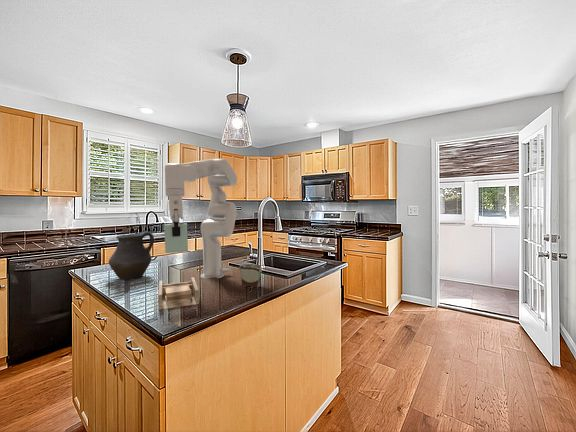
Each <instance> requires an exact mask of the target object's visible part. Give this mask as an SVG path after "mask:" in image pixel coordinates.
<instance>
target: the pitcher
mask: <svg viewBox="0 0 576 432" xmlns="http://www.w3.org/2000/svg"><path fill="white" fill-rule="evenodd" d="M145 237H149V244H148V246H146V247H145V245H144V241H143V240H144V238H145ZM154 237H155V236H154V235H153V233H151V232H149V231H146V230H145V231H142V232H140V233H130V234H129V233H128V234H119V235H118V234H117V235H116V237H115V238H117V241H118V244H117V246H116V249H115V250H114V252H113V253H112V255H111V256H110V257H109V259H108V265H109V267H110V268H111V270H112V271H113V273H114V274H115V275H116V276H117V278H118V279H120V280H135V279H139V278H142V277H143V276H144V274H145V273H146V271H147V270H148V268H149V266H150V264H151V263H152V255H151V253H150V252H151V250H152V248H153V246H154V243H155V238H154Z"/></svg>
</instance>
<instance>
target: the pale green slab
mask: <svg viewBox="0 0 576 432" xmlns="http://www.w3.org/2000/svg"><path fill="white" fill-rule="evenodd" d="M163 225H164V226H163V228H164V229H163V230H164V248H165V250H164V251H165V254H172V253H183V252H185V253H186V252H188V251H189V244H188V243H189V242H188V241H189V240H188V239H189V238H188V224H187V223H180V236H175V237H173V236H172V227H173V224H172V223H168V224H163Z"/></svg>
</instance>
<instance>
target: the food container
mask: <svg viewBox="0 0 576 432" xmlns="http://www.w3.org/2000/svg"><path fill="white" fill-rule="evenodd" d="M238 267H239V268H238V271H239V275H240V282H241V283H240V284H241V286H242V285H243V286H242V287H246V286H251V287H250V288H253V287H259V288H260V287H261V286H260V284H261V275H262V274H261V273H262V272H263V268H262V267H263V266H262V265H259V264H255V263H246V264H240V265H239V266H238Z"/></svg>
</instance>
